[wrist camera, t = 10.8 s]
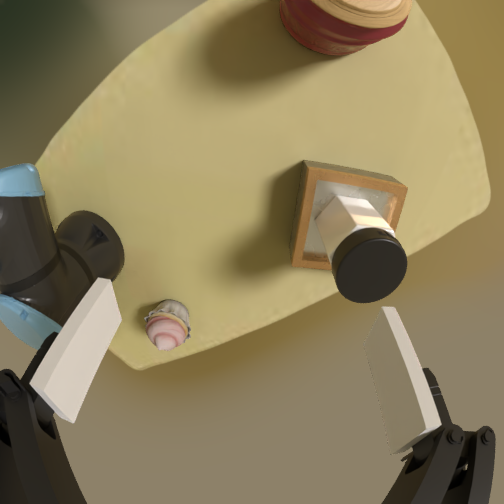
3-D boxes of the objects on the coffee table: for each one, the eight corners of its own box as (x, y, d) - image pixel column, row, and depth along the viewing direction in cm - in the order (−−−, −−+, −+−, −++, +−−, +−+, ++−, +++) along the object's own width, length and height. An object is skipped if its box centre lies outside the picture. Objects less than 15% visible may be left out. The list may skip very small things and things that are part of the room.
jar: (378, 239, 37) (411, 290, 27) (328, 258, 39) (346, 315, 29) (363, 184, 33) (402, 223, 23) (307, 205, 35) (325, 253, 25)
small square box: (288, 251, 44) (290, 271, 39) (303, 159, 36) (309, 169, 31) (368, 259, 44) (378, 278, 39) (391, 176, 36) (407, 187, 31)
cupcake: (142, 303, 52) (125, 339, 43) (173, 285, 49) (157, 324, 40) (173, 332, 55) (161, 369, 47) (205, 318, 52) (196, 357, 44)
